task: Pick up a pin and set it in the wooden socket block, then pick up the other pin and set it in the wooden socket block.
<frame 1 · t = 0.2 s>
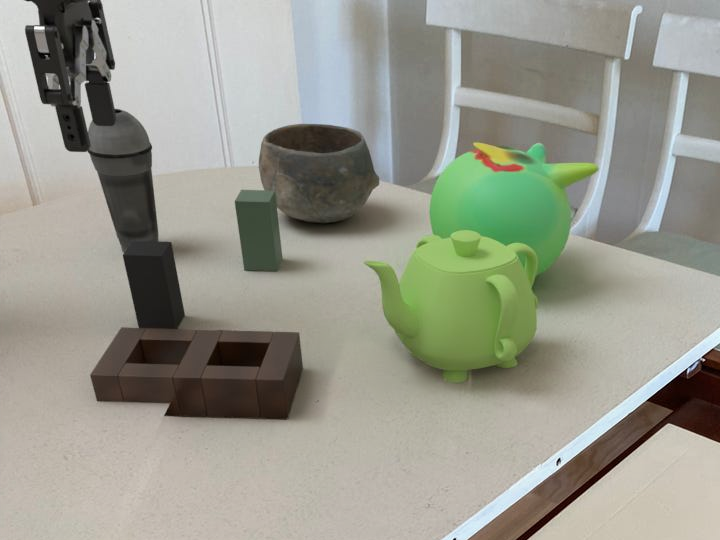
hand: (92, 137, 94), 18 cm above the table, tool pointing down, fingers open, 8 cm apart
bowl: (323, 218, 131), on the table
pin b: (263, 264, 118), on the table
teapot: (454, 361, 101), on the table
beverage cup: (141, 250, 121), on the table
toy bird: (501, 275, 118), on the table
pin a: (162, 322, 105), on the table
wooden socket block: (205, 391, 94), on the table
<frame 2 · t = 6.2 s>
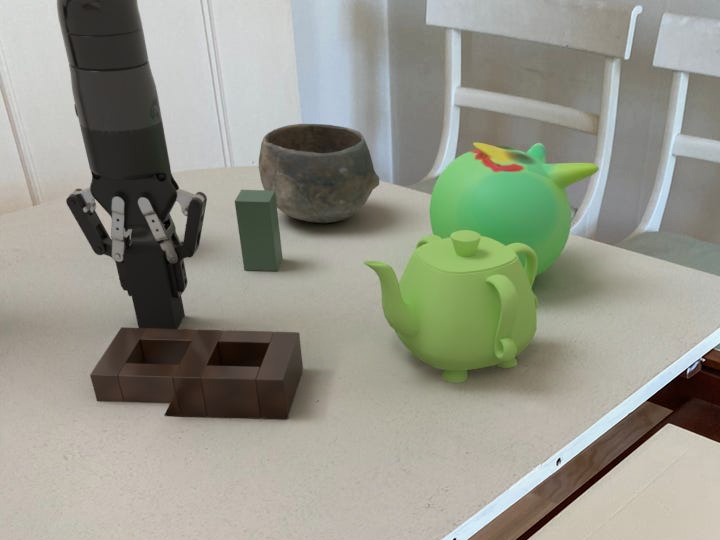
hand: (156, 293, 103), 3 cm above the table, tool pointing down, fingers closed on pin a, 4 cm apart
pin a: (162, 322, 105), on the table, touching gripper
everything else where it was.
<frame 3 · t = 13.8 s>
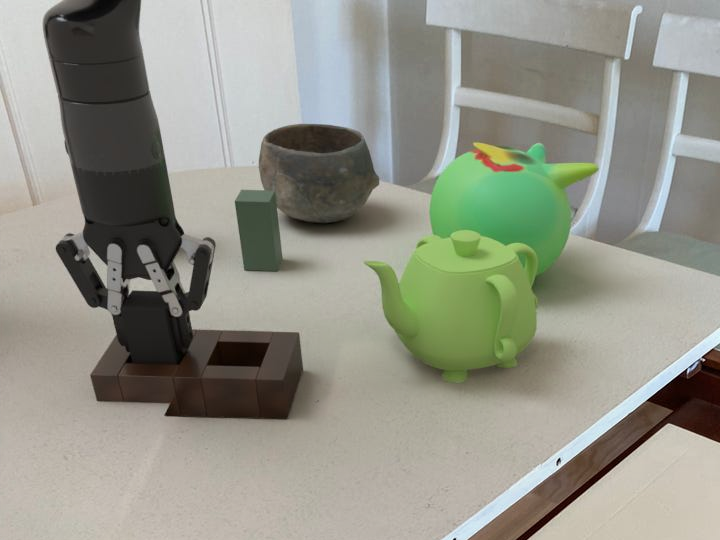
hand: (157, 348, 91), 4 cm above the table, tool pointing down, fingers closed on pin a, 4 cm apart
pin a: (164, 380, 94), point 1 cm above the table, touching gripper
everything else where it was.
when the fingers open (5 cm above the table, at t = 19.2 s): pin a drops 2 cm, resting in wooden socket block.
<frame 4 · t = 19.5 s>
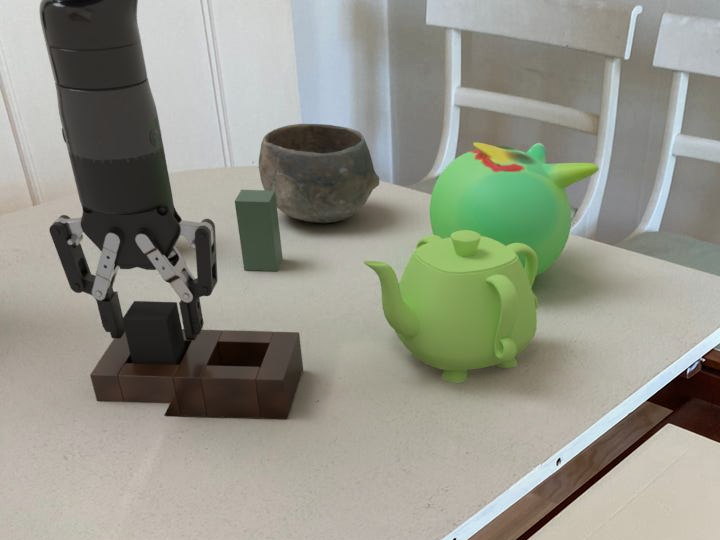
hand: (155, 335, 91), 6 cm above the table, tool pointing down, fingers open, 6 cm apart
pin a: (166, 389, 94), resting in wooden socket block
everything else where it was.
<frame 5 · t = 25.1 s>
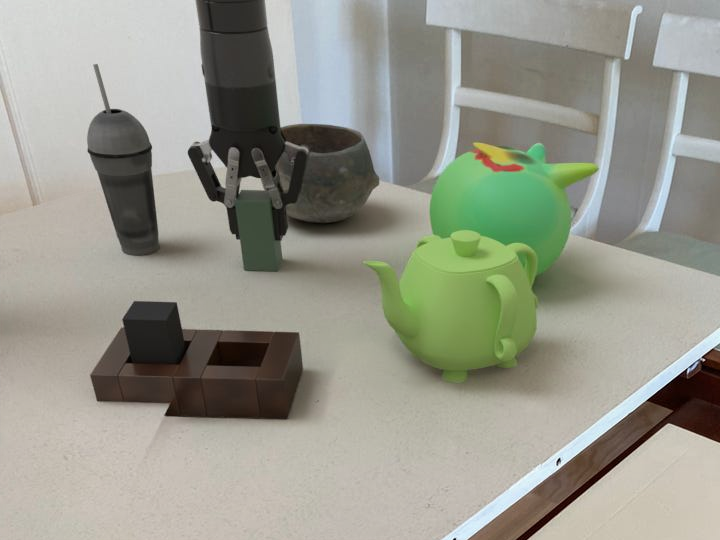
hand: (259, 237, 116), 3 cm above the table, tool pointing down, fingers closed on pin b, 4 cm apart
pin b: (263, 264, 118), on the table, touching gripper
everything else where it was.
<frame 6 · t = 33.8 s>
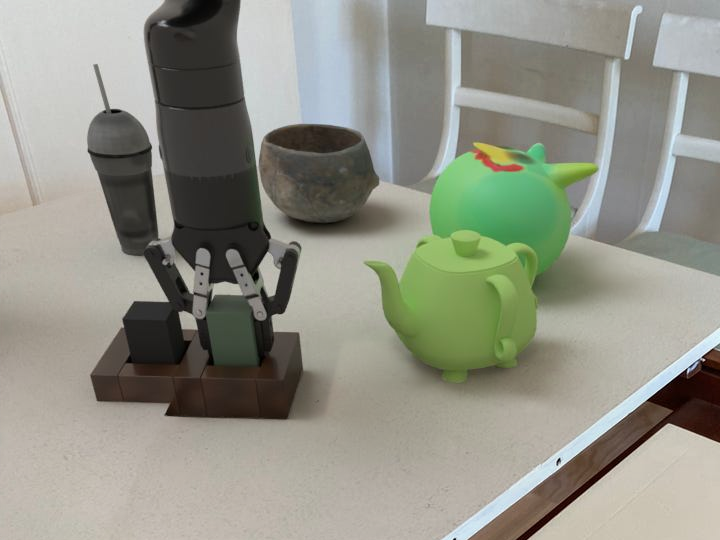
hand: (238, 352, 92), 4 cm above the table, tool pointing down, fingers closed on pin b, 4 cm apart
pin b: (244, 384, 94), point 1 cm above the table, touching gripper
everything else where it was.
when the fingers open (5 cm above the table, at t = 39.3 s): pin b drops 2 cm, resting in wooden socket block.
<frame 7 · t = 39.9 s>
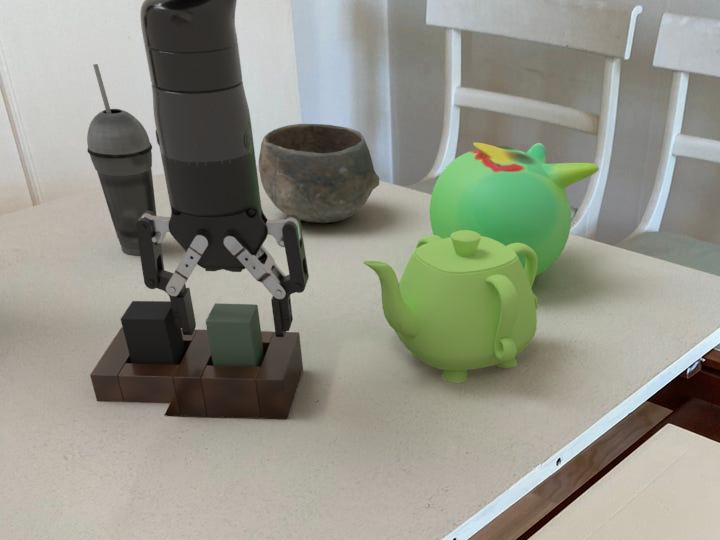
hand: (235, 332, 90), 6 cm above the table, tool pointing down, fingers open, 8 cm apart
pin b: (244, 392, 94), resting in wooden socket block
pin a: (166, 389, 94), resting in wooden socket block, touching gripper
everything else where it was.
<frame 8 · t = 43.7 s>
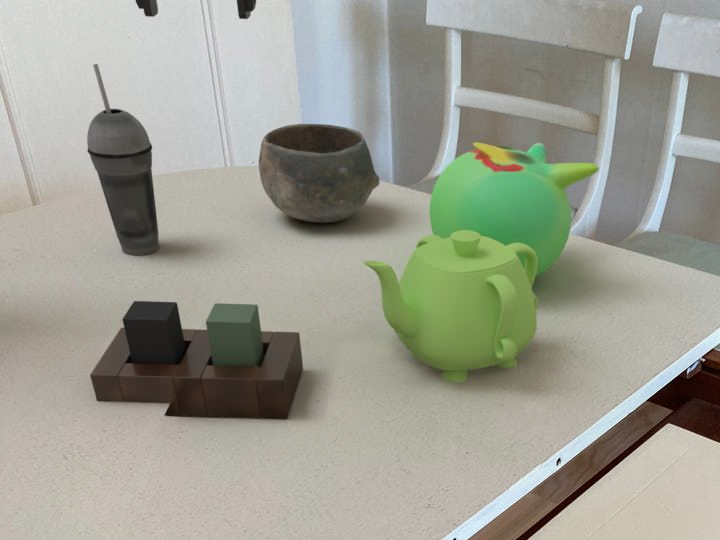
hand: (198, 16, 89), 28 cm above the table, tool pointing down, fingers open, 8 cm apart
pin a: (166, 389, 94), resting in wooden socket block
everything else where it was.
at the end: pin a 0.0 cm from the target spot in the wooden socket block, point 0.0 cm above the wooden socket block's base; pin b 0.0 cm from the target spot in the wooden socket block, point 0.0 cm above the wooden socket block's base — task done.
